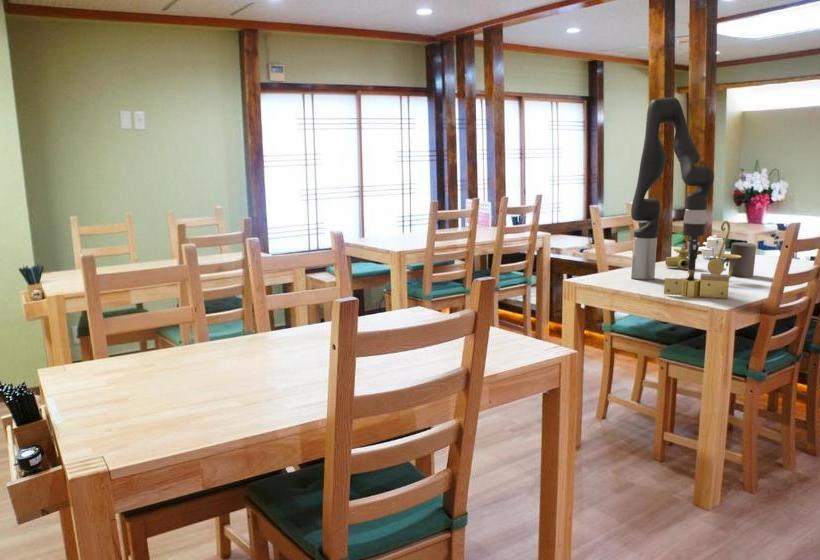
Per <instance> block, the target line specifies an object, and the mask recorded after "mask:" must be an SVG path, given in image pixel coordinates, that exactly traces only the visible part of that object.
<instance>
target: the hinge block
mask: <svg viewBox="0 0 820 560" xmlns="http://www.w3.org/2000/svg"><path fill="white" fill-rule="evenodd" d="M699 278H700V279H699ZM699 278H695V277H694V280H687V279H688V277H681V278H671V277H670V278H669V277H668V278H667V277H665V278H664V286H663V288H664V289H663V295H668V296H669V295H672V296H680V295H681V296H680V297H683V296H684V297H683V298H693V299H694V298H702V299H705V298H706V299H721V300H722V299H723V300H728V296H729V284H730V278H729V276H728V274H722V273H721V274H711V273H700V277H699Z"/></svg>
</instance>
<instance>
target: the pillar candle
mask: <svg viewBox="0 0 820 560" xmlns="http://www.w3.org/2000/svg"><path fill="white" fill-rule="evenodd" d="M756 252H757V244H755V243H752V242H751V243H749V242H745V241H744V240H743V242H732V243H731V246H730V254H733V255H739V256H741V258H736V259H732V261H733V272H732V275H731V277H734V276H735V277H736V278H745V277H748V278H753V277H754V271H755V264H756V263H755V261H756ZM728 267H729V268H728V274H727V275H729V273H730V269H731V263H730V262H729V264H728ZM752 276H753V277H752Z"/></svg>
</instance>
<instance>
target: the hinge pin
mask: <svg viewBox="0 0 820 560" xmlns="http://www.w3.org/2000/svg"><path fill="white" fill-rule="evenodd" d="M691 255H695V254H691ZM688 267H689V265H688ZM695 270H696V269H695ZM695 270H689V269H687V278H688V279H687V280H694V278H695Z"/></svg>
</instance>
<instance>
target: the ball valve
mask: <svg viewBox="0 0 820 560" xmlns="http://www.w3.org/2000/svg"><path fill="white" fill-rule="evenodd" d="M673 251H674V252H675V253H678V254H677V255H676V256H666V257H665V267H670V268H671V267H672V268H678V269H680V270H688V256H687V254H688V251H687V249H686V247H685V246H681V247H680V248H675V249H673Z"/></svg>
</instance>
